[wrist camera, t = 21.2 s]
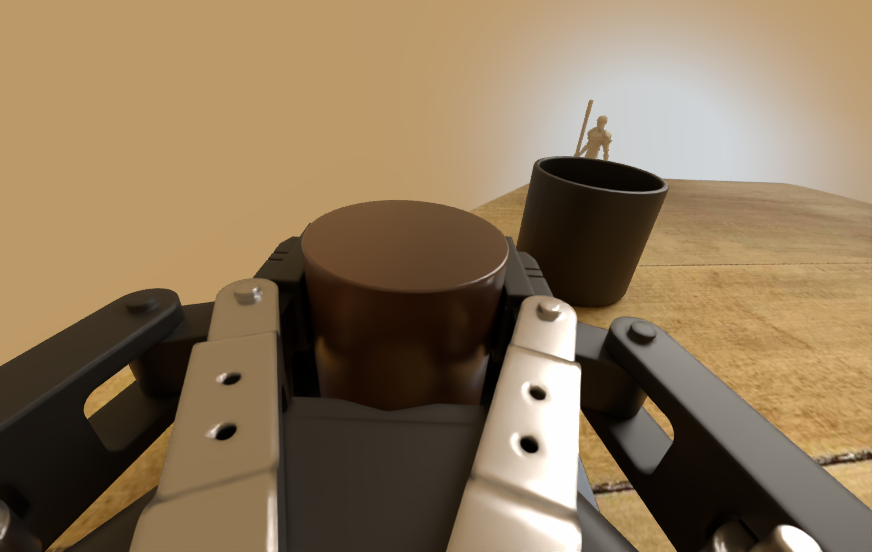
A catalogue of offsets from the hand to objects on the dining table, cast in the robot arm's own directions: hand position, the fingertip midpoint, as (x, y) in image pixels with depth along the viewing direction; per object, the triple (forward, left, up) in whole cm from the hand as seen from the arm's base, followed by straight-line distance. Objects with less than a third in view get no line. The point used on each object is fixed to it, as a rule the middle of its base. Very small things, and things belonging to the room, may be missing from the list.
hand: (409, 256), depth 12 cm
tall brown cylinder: (0, -3, -9) cm, 9 cm away
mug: (+13, +17, -10) cm, 24 cm away
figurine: (+22, +38, -10) cm, 45 cm away
